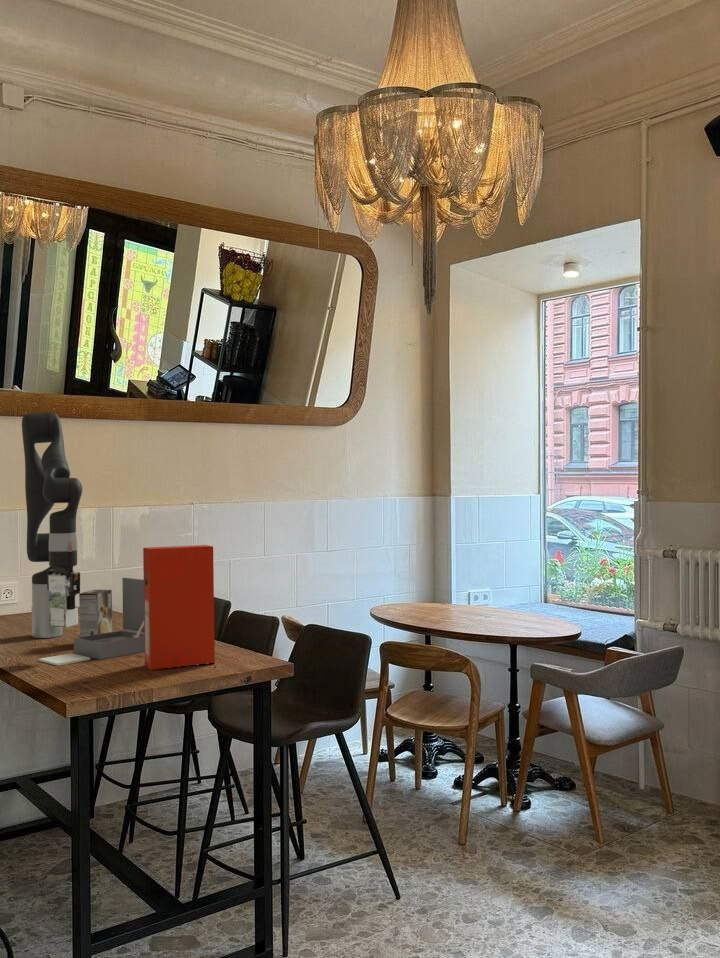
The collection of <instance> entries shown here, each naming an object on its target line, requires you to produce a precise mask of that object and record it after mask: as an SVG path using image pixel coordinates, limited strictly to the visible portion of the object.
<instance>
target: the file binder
mask: <svg viewBox="0 0 720 958" xmlns="http://www.w3.org/2000/svg"><path fill="white" fill-rule="evenodd" d="M142 549H143V550H142V555H143V556H142V557H143V559H142V561H143V564H142V566H143V580H144V650H145V652H144V666H145V667H146V668H147V669H148V670H149V671H157V669H158V670H164V668H168V669H174V668H173V667H177V668H182V667H181V666H187V667H189V666H188V665H196V666H198V665H197V664H206V665H208V664H207V663H214V664H215V663H216V658H215V656H216V655H215V653H216V652H215V646H216V645H215V593H214V592H215V586H214V585H215V584H214V583H215V582H214V581H215V580H214V577H215V575H214V572H215V571H214V546H213V545H208V544H196V545H178V546H177V545H174V546H152V547H148V546H147V547H143V548H142Z"/></svg>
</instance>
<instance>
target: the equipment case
mask: <svg viewBox="0 0 720 958" xmlns="http://www.w3.org/2000/svg"><path fill="white" fill-rule="evenodd" d="M121 582H122V584H121V585H122V630H116V631H112V632H108V633H102V634H95V635H89V636H83V637H80V636H76V637H74V638H73V654H77V655H81V656H85V657H89V658H92V659H97V660H99V661H100V660H105V659H111V658H116V657H121V656H122V657H123V656H129V655H133V654H139V653H143V652H144V653H145V650H144V579H142V578H141V579H140V578H133V577H122V581H121Z"/></svg>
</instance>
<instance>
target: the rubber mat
mask: <svg viewBox="0 0 720 958" xmlns="http://www.w3.org/2000/svg"><path fill="white" fill-rule="evenodd" d="M90 660H91V657H87V656H83V655H79V654H74V653H72V652H70V653H65V654H59V655H53V656H48V657H42V658H38V662H42V663H46V664H49V665H54V666H62V665H63V666H64V665H68V664H73V663H74V664H75V663H80V662H84V661H85V662H86V661H90Z"/></svg>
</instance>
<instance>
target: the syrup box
mask: <svg viewBox="0 0 720 958" xmlns="http://www.w3.org/2000/svg"><path fill="white" fill-rule="evenodd" d="M64 585H65V586H66V585H70V581H69V579H68V580H67V578H66V576H65V575H62V576H59V575H58V574H57V575H54V574H52V575H49V618H50V626H52V627H63V628H68V627H69V628H70V627H74V626H77V625H79V610H78V609H79V607H78V606H79V605H78V604H79V603H78V600H79V598H78V596H79V594H76V595H75V609H72V610H68V609H67V602H66V596H67V594H66V588H65V587H64ZM75 589H76V586H75ZM69 591H70V589H69Z"/></svg>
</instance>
